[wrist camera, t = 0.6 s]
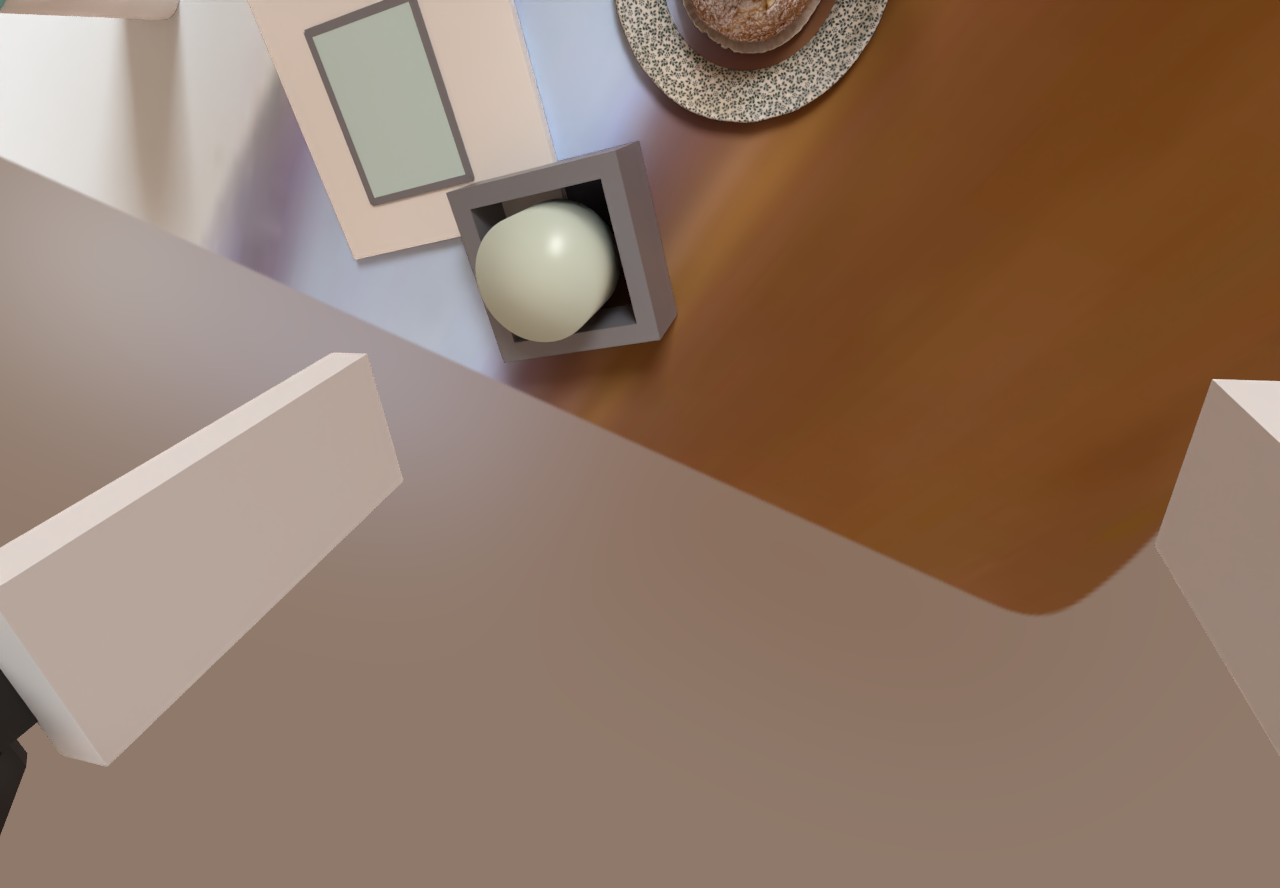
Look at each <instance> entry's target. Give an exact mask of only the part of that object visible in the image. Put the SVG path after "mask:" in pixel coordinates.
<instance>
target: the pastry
mask: <svg viewBox="0 0 1280 888" xmlns="http://www.w3.org/2000/svg"><path fill="white" fill-rule="evenodd" d="M682 1H683V5H684V8H685V9H686V11H687V13H688V16H689V18H690V19H692V21H693V23H694V25H695V27H698V29H699V30H700V31H701V33H703V32H706V33H707V34H708V36H709V39H712V40H713V41H714V42H716V43H718V44H719V43H720V44H721V47H723V48H724V49H726V48H730V49H731V50H733V52H739V53H747V54H748V53H764V52H766V51H769V50H772V49H775V48H776V47H779V46H781V45H783V44H784V43H786V42H787V41H789V40H790V39H791V38H792V37H794V36H795V35H796V34H797V33H798V32H799V31H801V29H802V27H803V26H804V25H805V24H806V23H807V22H808V20H809V18H810V16H811V15H812V14H813V12H814V11H815V10H816V7H817V5H818V4H819V3H820V1H821V0H682ZM887 1H888V0H836V1H835V3H834V6H833V8H832V9H831V11H830V13H829V15H828V17H827V19H826V20H825V22H824V23H823V25H822V26H821V28H820V29H819V31H818V32H817V33H816V34H815V36H814V37H813V38H812V39H811V40H810V41H809V42H808V43H807V44H806V45H805V46H804V47H802V48H801V49H800V50H799V51H798V52H796V53H795V54H794V55H792V56H791V57H789V58H787V59H786V60H784V61H782V62H780V63H778V64H776V65H773V66H771V67H767V68H764V69H758V70H749V71H743V70H742V71H741V70H732V69H727V68H724V67H720V66H718V65H716V64H714V63H711V62H709V61H708V60H706V59H705V58H703V57H702V56H700V55H699V54H697V52H695V51H694V50H693V49H692V48H691V47H690V46H689V45H688V44H687V43H686V41H685V40H684V38H683V37H682V36H681V35H680V33H679V31H678V29H677V27H676V26H675V24H674V22H673V19H672V16H671V14H670V12H669V9H668V6H667V2H666V0H615V3H616V7H617V12H618V16H619V19H620V22H621V25H622V28H623V30H624V34H625V35H626V37H627V40H628V42H629V44H630V47H631V49H632V51H633V53H634V55H635V58H636V59H637V61H638V63H639V64H640V65H641V67H642V69H643V70H644V71H645V72H646V73H647V75H648V76H649V77H650V78H651V79H652V80H653V82H654V83H655V84H656V85H657V87H658V88H659V89H660V90H661V91H662V92H663V93H665V95H666V96H668V97H669V98H670V99H672V100H673V101H674V102H676V103H677V104H678V105H680V106H681V107H683V108H685V109H686V110H688V111H690V112H693V113H696V114H698V115H700V116H703V117H706V118H710V119H714V120H720V121H732V122H740V123H741V122H743V123H749V122H750V123H751V122H758V121H763V120H767V119H770V118H773V117H777V116H780V115H784V114H788V113H790V112H793V111H795V110H798V109H800V108H802V107H803V106H805V105H806V104H808V103H810V102H812V101H813V100H815V99H816V98H818V97H819V96H821V95H822V94H823V93H825V92H826V91H827V90H828V89H830V88H831V87H832V86H833V85H834V84H835V83H836V82H837V81H838V80H839V79H840V78H841V77H842V76H843V75H844V74H845V73H846V72H847V71H848V70H849V68H850V67H851V66H852V64H853V63H854V62H855V61H856V60H857V59H858V57H859V55H860V54H861V52H862V51H863V49H864V47H865V46H866V45H867V43H868V42H869V41H870V39H871V37H872V35H873V34H874V32H875V30H876V28H877V26H878V24H879V21H880V19H881V17H882V14H883V11H884V9H885V7H886V4H887Z"/></svg>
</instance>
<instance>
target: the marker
mask: <svg viewBox="0 0 1280 888" xmlns="http://www.w3.org/2000/svg"><path fill="white" fill-rule="evenodd" d="M178 3H179V0H0V13H15V14H37V15H59V16H81V17H104V18H126V19H148V20H165V19H168V18H170V17H171V16H172V15H173V14H174V13H175V11H176V9H177V7H178Z"/></svg>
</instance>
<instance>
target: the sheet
mask: <svg viewBox="0 0 1280 888" xmlns="http://www.w3.org/2000/svg"><path fill="white" fill-rule="evenodd" d="M247 1H248V3H249V5H250V8H251V10H252V13H253V15H254V18H255V20H256V22H257V25H258V27H259V30H260V32H261V34H262V37H263V39H264V42H265V44H266V46H267V49H268V51H269V54H270V56H271V59H272V61H273V63H274V66H275V68H276V71H277V73H278V75H279V78H280V80H281V83H282V85H283V88H284V90H285V92H286V95H287V97H288V100H289V102H290V104H291V107H292V109H293V112H294V114H295V117H296V119H297V121H298V124H299V126H300V129H301V131H302V133H303V136H304V138H305V141H306V143H307V145H308V148H309V150H310V153H311V155H312V158H313V160H314V162H315V165H316V167H317V170H318V172H319V174H320V177H321V179H322V182H323V184H324V187H325V189H326V191H327V194H328V196H329V199H330V201H331V203H332V206H333V208H334V211H335V213H336V215H337V218H338V220H339V223H340V225H341V228H342V230H343V232H344V235H345V237H346V240H347V242H348V244H349V247H350V249H351V252H352V254H353V257H354V259H355V260H357V259H361V258H366V257H370V256H375V255H379V254H384V253H388V252H393V251H397V250H402V249H406V248H411V247H415V246H420V245H424V244H429V243H433V242H438V241H442V240H447V239H451V238H456V237H460V236H461V235H460V232H459V230H458V227H457V224H456V221H455V218H454V215H453V212H452V209H451V206H450V203H449V200H448V198H447V195H446V193H447V192H450V191H453V190H456V189H459V188H461V187H464V186H467V185H470V184H473V183H476V182H479V181H483V180H487V179H491V178H495V177H499V176H503V175H507V174H511V173H515V172H519V171H523V170H527V169H531V168H535V167H539V166H543V165H547V164H551V163H554V162H557V157H556V154H555V150H554V146H553V143H552V139H551V135H550V132H549V128H548V124H547V121H546V117H545V113H544V110H543V106H542V102H541V99H540V95H539V91H538V88H537V84H536V80H535V76H534V73H533V69H532V65H531V62H530V58H529V54H528V51H527V47H526V43H525V40H524V36H523V32H522V29H521V25H520V21H519V18H518V14H517V10H516V7H515V3H514V0H247ZM550 199H568V198H567V194H566V190H565V187H563V188H559V189H555V190H551V191H546V192H542V193H538V194H534V195H529V196H525V197H521V198H517V199H512V200H508V201H504V202H502V205H503V208H504V212H505V215H506V218H508V217H510V216H513V215H515V214H517V213H519V212H521V211H523V210H525V209H527V208H529V207H531V206H534V205H536V204H538V203H540V202H542V201H546V200H550Z"/></svg>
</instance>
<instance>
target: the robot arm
mask: <svg viewBox="0 0 1280 888" xmlns="http://www.w3.org/2000/svg"><path fill="white" fill-rule="evenodd" d="M402 482H403V477H402V474H401V470H400V467H399V463H398V460H397V456H396V453H395V449H394V446H393V442H392V439H391V435H390V432H389V428H388V425H387V421H386V418H385V414H384V411H383V407H382V404H381V400H380V397H379V393H378V390H377V386H376V383H375V379H374V376H373V372H372V369H371V365H370V362H369V358H368V355H367V354H364V353H330V354H329V355H327V356H325V357H324V358H322V359H320V360H319V361H317V362H315V363H313V364H312V365H310V366H308V367H307V368H305V369H303V370H302V371H300V372H298V373H296V374H295V375H293V376H291V377H290V378H288V379H287V380H285V381H283V382H281V383H279V384H278V385H276V386H274V387H273V388H271V389H269V390H268V391H266V392H264V393H262V394H261V395H259V396H257V397H256V398H254V399H252V400H251V401H249V402H247V403H245V404H244V405H242V406H240V407H239V408H237V409H235V410H234V411H232V412H231V413H228V414H227V415H225V416H223V417H222V418H220V419H218V420H217V421H215V422H213V423H212V424H210V425H208V426H206V427H205V428H203V429H201V430H200V431H198V432H196V433H195V434H193V435H191V436H189V437H188V438H186V439H184V440H183V441H181V442H179V443H177V444H176V445H174V446H172V447H171V448H169V449H167V450H166V451H164V452H162V453H160V454H159V455H157V456H155V457H154V458H152V459H150V460H149V461H147V462H145V463H143V464H142V465H140V466H138V467H137V468H135V469H133V470H132V471H130V472H128V473H127V474H125V475H123V476H122V477H120V478H118V479H116V480H115V481H113V482H111V483H110V484H108V485H106V486H104V487H103V488H101V489H99V490H98V491H96V492H94V493H93V494H91V495H89V496H87V497H86V498H84V499H82V500H81V501H79V502H78V503H76V504H74V505H72V506H71V507H69V508H67V509H65V510H64V511H62V512H60V513H59V514H57V515H55V516H53V517H52V518H50V519H48V520H47V521H45V522H43V523H42V524H40V525H38V526H36V527H35V528H33V529H31V530H30V531H28V532H26V533H25V534H23V535H21V536H19V537H18V538H16V539H14V540H13V541H11V542H9V543H8V544H6V545H4V546H3V547H1V548H0V834H1V832H2V829H3V826H4V824H5V821H6V818H7V816H8V813H9V810H10V808H11V805H12V803H13V800H14V797H15V795H16V792H17V789H18V787H19V784H20V781H21V779H22V776H23V773H24V771H25V768H26V762H27V752H26V751H25V750H24V748H23V747H22V746H21V745H20V743H19V742H18V741H17V738H18V737H20V736H21V735H22V734H23V733H25V732H26V731H27V730H28V729H29V728H31V727H32V726H33V725H34V724H35V723H38V724H39V726H40V727H41V728H42V730H43V731H44V732H45V734H46V735H47V737H48V738H49V739H50V740H51V742H52V743H53V744H54V746H55V747H56V749H57V750H58V751H59V753H60V754H61V755H62V756H66V757H70V758H75V759H79V760H82V761H87V762H91V763H95V764H99V765H103V766H109V765H110V763H112V762H113V761H114V760H115V758H117V757H118V756H119V755H120V754H121V753H122V752H123V751H124V750H125V749H126V748H127V747H128V746H129V745H130V744H131V743H132V742H133V741H134V740H136V739H137V738H138V737H139V736H140V735H141V733H143V732H144V731H145V730H146V729H147V728H148V727H149V726H150V725H151V724H152V723H153V722H154V721H155V720H156V719H157V718H158V717H159V716H160V715H161V714H162V713H164V712H165V710H167V709H168V707H170V706H171V705H172V704H173V703H174V702H175V701H176V700H177V699H178V698H179V697H180V696H181V695H182V694H183V693H184V692H185V691H186V690H187V689H188V688H189V687H190V686H191V685H193V684H194V683H195V682H196V681H197V680H198V679H199V678H200V677H201V676H202V675H203V674H204V673H205V672H206V671H207V670H208V669H209V668H210V667H211V666H212V665H213V664H214V663H215V662H216V661H217V660H218V659H219V658H221V657H222V655H223V654H225V653H226V652H227V651H228V650H229V649H230V648H231V647H232V646H233V645H234V644H235V643H236V642H237V641H238V640H239V639H240V638H241V637H242V636H243V635H244V634H245V633H246V632H247V631H248V630H250V628H252V627H253V626H254V625H255V624H256V623H257V622H258V621H259V620H260V619H261V618H262V617H263V616H264V615H265V614H266V613H267V612H268V611H269V610H270V609H271V608H272V607H273V606H274V605H275V604H277V603H278V601H280V600H281V599H282V598H283V597H284V596H285V595H286V594H287V593H288V592H289V591H290V590H291V589H292V588H293V587H294V586H295V585H296V584H297V583H298V582H299V581H300V580H301V579H302V578H303V577H304V576H306V575H307V574H308V573H309V572H310V571H311V569H313V568H314V567H315V566H316V565H317V564H318V563H319V562H320V561H321V560H322V559H323V558H324V557H325V556H326V555H327V554H328V553H329V552H330V551H331V550H332V549H334V548H335V546H337V545H338V544H339V543H340V542H341V541H342V540H343V539H344V538H345V537H346V536H347V535H348V534H349V533H350V532H351V531H352V530H353V529H354V528H355V527H356V526H357V525H358V524H359V523H360V522H362V520H364V519H365V518H366V517H367V516H368V515H369V514H370V513H371V512H372V511H373V510H374V509H375V508H376V507H377V506H378V505H379V504H380V503H381V502H382V501H383V500H384V499H385V498H386V497H387V496H388V495H389V494H390V493H392V492H393V491H394V490H395V489H396V488H397V487H398V486H399V485H400V484H401V483H402ZM1154 546H1155V547H1156V549H1157V551H1158V553H1159V554H1160V556H1161V558H1162V559H1163V561H1164V562H1165V564H1166V566H1167V568H1168V569H1169V571H1170V573H1171V574H1172V576H1173V578H1174V579H1175V581H1176V583H1177V585H1178V586H1179V588H1180V590H1181V591H1182V593H1183V595H1184V596H1185V598H1186V600H1187V601H1188V603H1189V605H1190V606H1191V608H1192V610H1193V611H1194V613H1195V615H1196V616H1197V618H1198V620H1199V621H1200V623H1201V625H1202V626H1203V628H1204V630H1205V632H1206V633H1207V635H1208V637H1209V638H1210V640H1211V642H1212V643H1213V645H1214V647H1215V649H1216V650H1217V652H1218V654H1219V655H1220V657H1221V659H1222V660H1223V662H1224V664H1225V665H1226V667H1227V668H1228V670H1229V672H1230V674H1231V675H1232V677H1233V679H1234V680H1235V682H1236V684H1237V686H1238V687H1239V689H1240V691H1241V692H1242V694H1243V696H1244V697H1245V699H1246V701H1247V702H1248V704H1249V706H1250V708H1251V709H1252V711H1253V713H1254V714H1255V716H1256V718H1257V719H1258V721H1259V723H1260V724H1261V726H1262V728H1263V729H1264V731H1265V733H1266V734H1267V736H1268V738H1269V739H1270V741H1271V743H1272V745H1273V746H1274V748H1275V750H1276V751H1277V753H1278V755H1279V756H1280V381H1254V380H1221V379H1212V381H1211V384H1210V387H1209V390H1208V393H1207V396H1206V399H1205V401H1204V404H1203V407H1202V410H1201V413H1200V416H1199V419H1198V422H1197V424H1196V427H1195V430H1194V433H1193V436H1192V439H1191V442H1190V445H1189V447H1188V450H1187V453H1186V456H1185V459H1184V462H1183V465H1182V468H1181V470H1180V473H1179V476H1178V479H1177V482H1176V485H1175V488H1174V490H1173V493H1172V496H1171V499H1170V502H1169V505H1168V508H1167V511H1166V513H1165V516H1164V519H1163V522H1162V525H1161V528H1160V531H1159V534H1158V536H1157V539H1156V542H1155V545H1154Z"/></svg>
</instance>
